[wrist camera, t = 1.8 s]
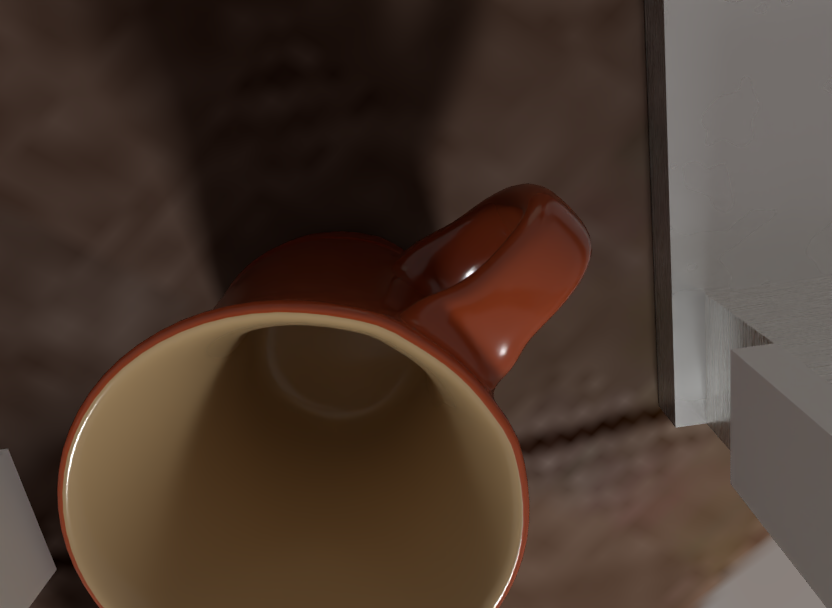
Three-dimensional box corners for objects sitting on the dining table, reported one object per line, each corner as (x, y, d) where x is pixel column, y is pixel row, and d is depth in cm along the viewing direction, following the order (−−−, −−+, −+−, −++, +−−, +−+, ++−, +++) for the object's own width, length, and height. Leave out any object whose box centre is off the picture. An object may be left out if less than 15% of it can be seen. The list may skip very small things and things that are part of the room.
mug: (352, 488, 24) (315, 767, 14) (158, 331, 22) (-41, 533, 12) (604, 258, 21) (770, 408, 12) (410, 56, 19) (413, 31, 10)
